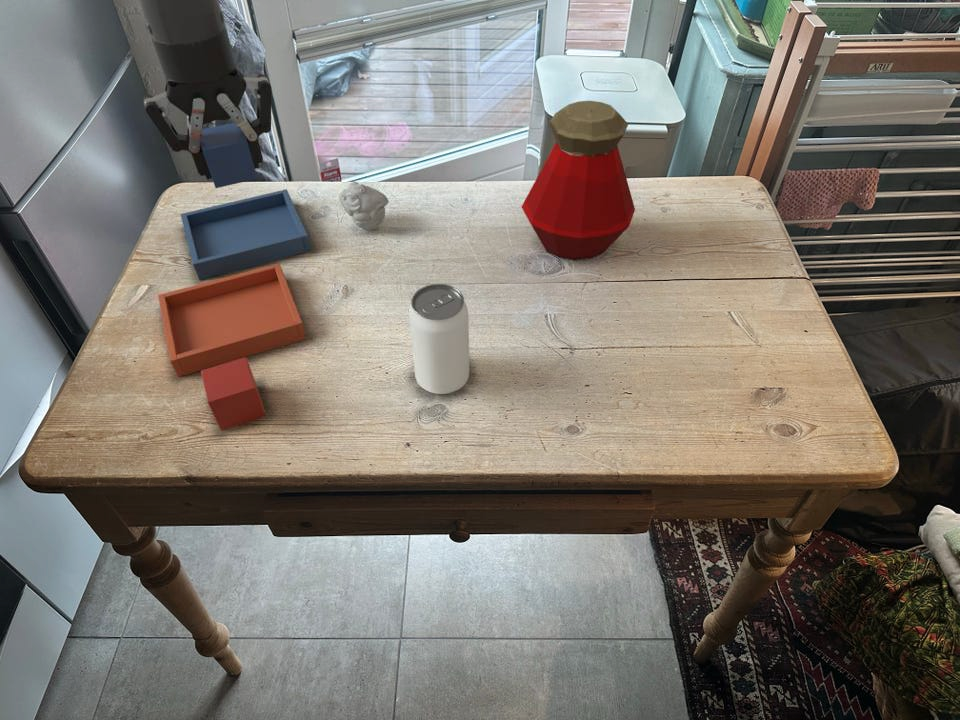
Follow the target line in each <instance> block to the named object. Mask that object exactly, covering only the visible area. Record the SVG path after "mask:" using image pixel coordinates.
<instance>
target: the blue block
mask: <svg viewBox="0 0 960 720" xmlns="http://www.w3.org/2000/svg"><path fill="white" fill-rule="evenodd" d="M201 147H202V150H203V153H204V156H205V159H206V162H207V165H208V168H209V171H210V174H211V176H212V182H213V185H214V188H215V189H219V188H223V187H227V186H232V185H236V184H240V183H241V184H242V183H246V182H250V181H254V180H258V174H257V172H256V169H255V167H254V164H253V160H252V157H251V153H250V150H249V146H248V143H247V140H246V137H245V135H244V134H243V132H242V131H241V130H240V129H239V128H238V127H237V126H236V124H235V123H234V122H232V123H230V122H229V123H226V124H222V125H216V126H211V127H206V128H203V129H202V135H201Z"/></svg>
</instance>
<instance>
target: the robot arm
mask: <svg viewBox="0 0 960 720" xmlns="http://www.w3.org/2000/svg"><path fill="white" fill-rule="evenodd" d="M138 3H139V8H140V11H141V14H142V17H143V20H144V23H145V28H146V30H147V32H148V34H149V36H150V38H151V42H152V45H153V47H154V50H155V53H156V56H157V58H158V62H159V64H160V67H161V70H162V73H163V75H164V78H165V82H166V83H165V88H164V91H163V92H161V93H159V94H157V95H154V96H153V95H152V94H147V95H145V96H143V105H144V109H145V113H146V114H147V115H148V117H149V118H150V119H151V121H152V123H153V124H154V125H155V128H157V130H158V131H159V133H160V135H162V138H163V139H164V140H165V141H166V143H167V145H168V146H169V147H170V150H172V151H173V152H176V153H179V152H181V151H187V152H189V153H190V154H191V157H192V159H193V162H194V165H195V167H196V171H197V173H198V175H200V177H203V176H205V178H206V180H207V181H208V180H211V179H212V176H211V174H210V171H209V168H208V165H207V162H206V159H205V156H204V153H203V150H202V147H201V135H202V129H204V128H203V127H204V125H207V124H211V123H213V122H215V121H226V120H227V121H228V120H231V121H232V123H235V124H236V126H237V127H238V128H239V129H240V130H241V131H242V132H243V134H244V135H245V137H246V140H247V143H248V146H249V150H250V153H251V157H252V160H253V164H254V167H255V170H256V169H260V168H261V167H260V164H262V163H263V162H264V157H263V154H262V149H261V146H260V142H259V137H260V136H261V135H263V134H269V133H270V132H271V131H272V86H271V83H270V82H269V79H268V77H267V76H266V74H264V73H259V74H257V76H256V77H251V76H249V77H247V76H244V75H243V73H242V72H241V71H240V70H239V68H238V66H237V62H236V60H235V54H234V52H233V51H234V50H233V48H232V44H231V41H230V37H229V34H228V29H227V26H226V21H225V15H224V12H223V9H222V7H221V4H220V0H138ZM246 90H249V92H250V94H251V96H252V98H254V99H256V118H255V119H253V120H250V119H249V118H248V116H247V115H246V114H245V112H244V110H243V109H242V107H241V106H240V104H241V101H242V99H243V97H244V94H245V92H246ZM170 104H171V105H173V106H174V107H176V108H177V109H179V111H181V113H184V114H185V115H186V134H181V133H179V132H178V131H177V129H176V128H175V126H174V125H173V123H172V121H170V118H169V117H168V116H169V114H170V110H169V105H170ZM212 180H213V179H212Z"/></svg>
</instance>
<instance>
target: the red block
mask: <svg viewBox="0 0 960 720" xmlns="http://www.w3.org/2000/svg"><path fill="white" fill-rule="evenodd" d="M250 366H251V365H250V363H249V360H248V358H247V356H246V357H243V358H240V359H236V360H233V361H230V362H226V363H223V364H219V365H216V366H213V367H209V368H206V369H203V370H200V374H201V378H202V383H203V388H204V392H205V398H206V401H207V405H208V406H209V408H210V410H211V413H212V414H213V417H214V418H215V421H216V424H217V425H218V427H219V429H220V431H224V430H227V429H230V428H233V427H236V426H239V425H243V424H245V423H249V422H251V421H254V420H257V419H261V418H264V417H266V411H265V408H264V405H263V402H262V399H261V394H260V391H259V388H258V385H257V383H256V380H255V379H256V378H255V377H254V374H253V371H252V368H251V367H250Z"/></svg>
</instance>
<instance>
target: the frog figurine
mask: <svg viewBox="0 0 960 720" xmlns="http://www.w3.org/2000/svg"><path fill="white" fill-rule="evenodd" d="M338 200H339V201H340V202H339V203H340V206H341V207H342V208H343V209H344V210H345V212H346V213H347V215H348V216H350V217H351V220H352V221H353V223H354V224H355V225H356V226H357V227H358V228H360V229H362V230H366V231H367V230H368V231H370V230H375V229H377V228H378V227H380V226H381V225H382V223H383V222H384V220H385V218H386V217H385V216H386V206H388V205H389V199H388V197H387V196H386V195H385V194H384V193H382V192H381V191H380V190H377V189H376V188H373V187H371V186H368V185H365V184H363V183H359V182H357V181H352V182H350V183H349V184H348V186H347V188H346V189H343V190H342V191H341V192H340V193H338Z"/></svg>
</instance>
